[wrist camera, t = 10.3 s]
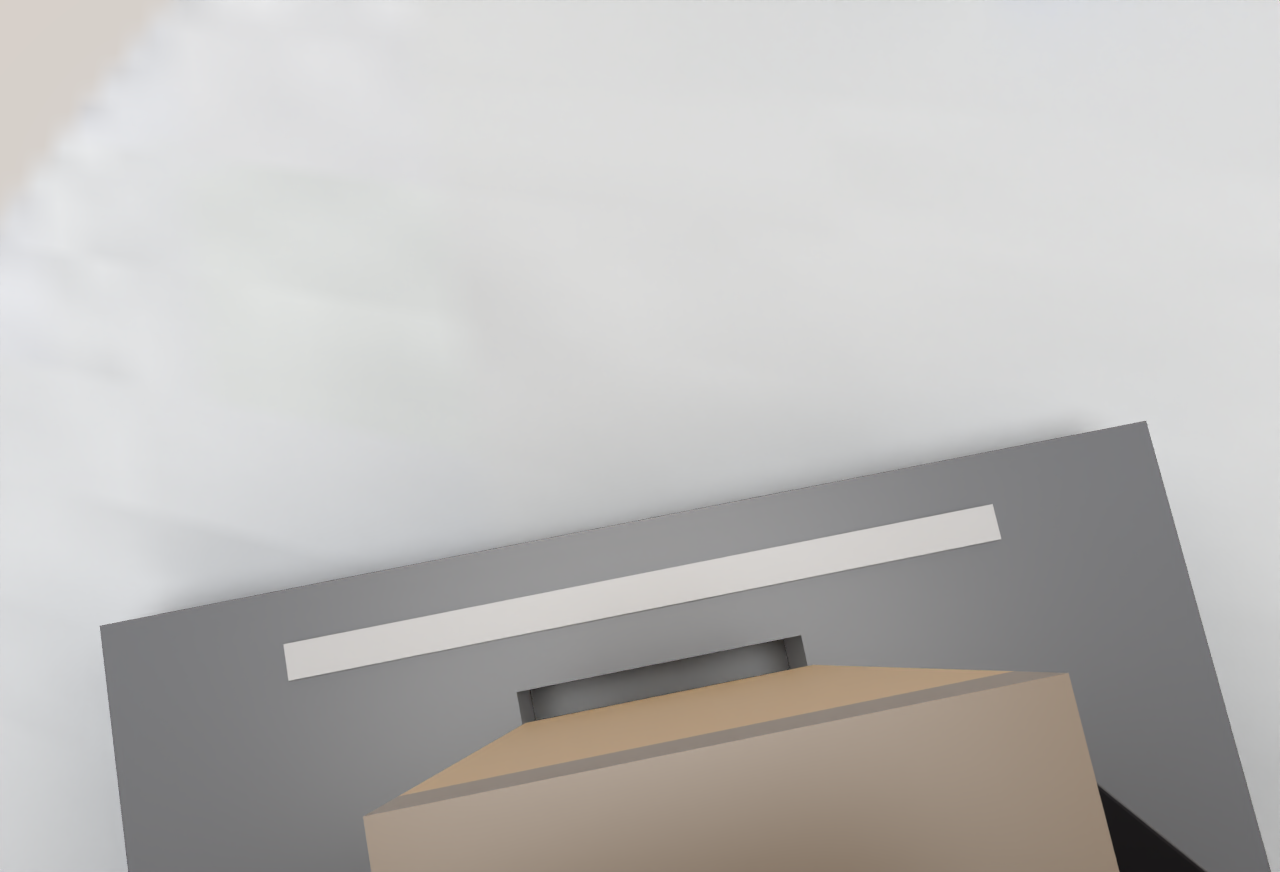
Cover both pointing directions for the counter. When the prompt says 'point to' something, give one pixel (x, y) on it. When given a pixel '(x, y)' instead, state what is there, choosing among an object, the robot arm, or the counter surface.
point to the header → (682, 648)
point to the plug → (774, 782)
